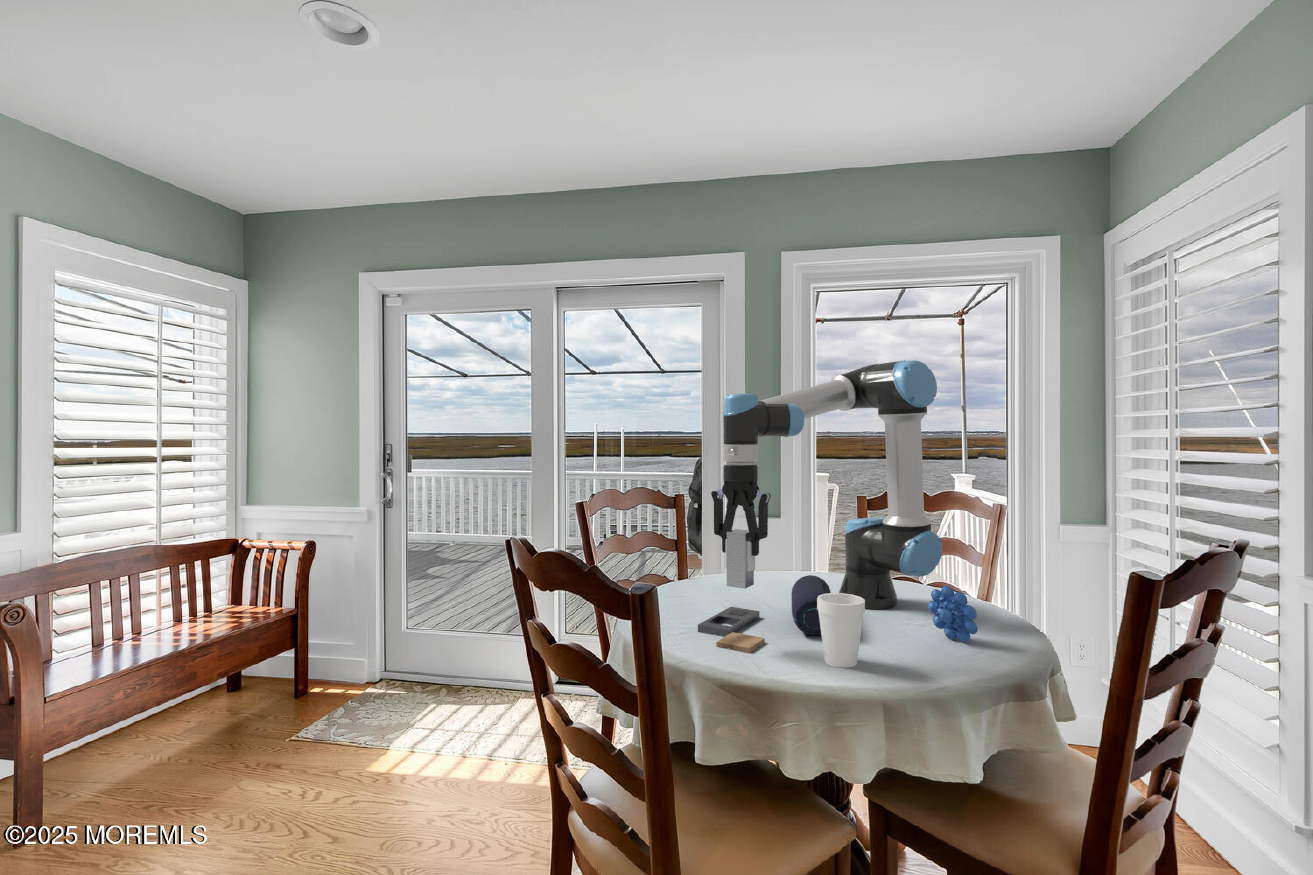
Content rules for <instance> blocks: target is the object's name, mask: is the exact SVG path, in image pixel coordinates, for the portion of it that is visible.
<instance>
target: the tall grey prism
mask: <svg viewBox="0 0 1313 875" xmlns="http://www.w3.org/2000/svg"><path fill="white" fill-rule="evenodd" d="M749 540H750V535H749V530H747V529H737V528H735V529H732V530H731V531H728V532H727V569H726V587H729V588H730V587H732V588H738V589H743V590H745V589H748V588H749V587H752V586H753V585H755V583H754V582H755V576H754V575H755V571H754V570H753V571H747V541H749Z"/></svg>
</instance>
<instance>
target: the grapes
mask: <svg viewBox="0 0 1313 875" xmlns="http://www.w3.org/2000/svg"><path fill="white" fill-rule="evenodd" d="M930 596H931V600H930V601H929V602H928V604H927V608H928V611H929V612H930V613H931V614H932V615H934V616H933V617H932V622H933V625H934V626H935V628H937V629H940V630H943V633H944V636H945V637H946V638H947V639H948V640H951V641H954V640H956V639H959V640H960V641H961V642H963V643H967V642H969V641H970V640H971V635H975V634H977V633H978V631H979V627H978V625H977V623H976V622H975V621H974V620H976V618H977V617H978V613H977V611H976V609H975V608H974V607H973V606H972V605H970V604H968V597H967V595H966V594H965V593H963V592H961V591H956V592H955V591H954V589H953V588H952V587H951V586H949V585H943V586H942V587H941V589H937V588H935V589H932V591H931V592H930Z"/></svg>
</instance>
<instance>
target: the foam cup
mask: <svg viewBox="0 0 1313 875" xmlns="http://www.w3.org/2000/svg"><path fill="white" fill-rule="evenodd" d="M817 610H818V612H819V620H820V628H821V634H820V635H821V642H822V650H823V657H824V661H825V663H826V664H827V665H830V666H832V667H836V668H846V669H847V668H853V667H855V666H857V663H858V657H859V649H860V643H861V642H860V640H861V635H862V628H863V620H864V615H865V612H866V611H865V610H866V608H865V600H864V599H863V598H861V597H859V596H855V595H851V594H844V593H838V592H834V593H833V592H831V593H828V594H822V595H819V596H818V598H817Z"/></svg>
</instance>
